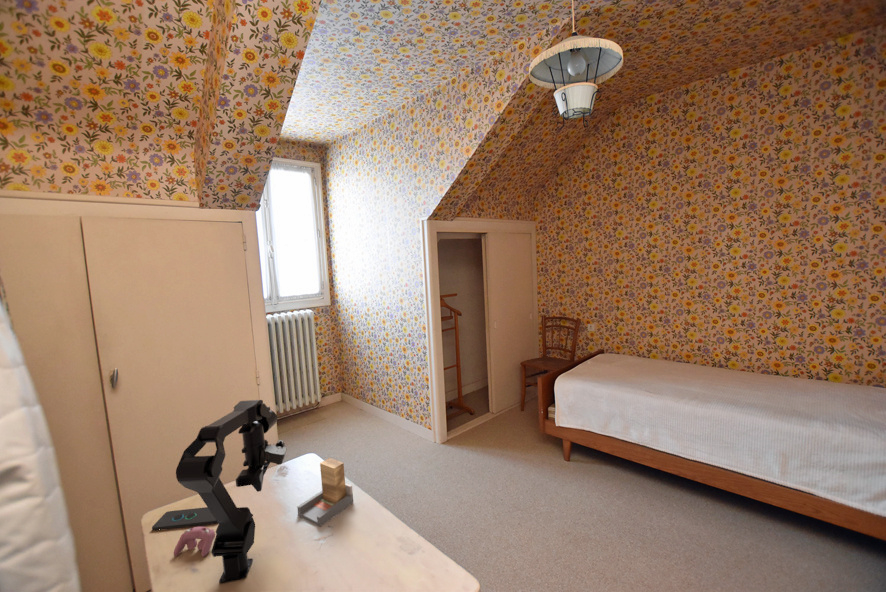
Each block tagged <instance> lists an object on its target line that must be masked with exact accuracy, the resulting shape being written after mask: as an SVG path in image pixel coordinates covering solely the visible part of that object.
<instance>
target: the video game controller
mask: <svg viewBox="0 0 886 592" xmlns="http://www.w3.org/2000/svg"><path fill="white" fill-rule="evenodd" d="M215 538H216V531H215V530H214V529H212V528H209V527H206V526H194V527H189V528H188V529H186V530H184V532H183V533H182V534H181V535H180V537H179V540H178V541H177V543H176V546H175V548H174V551H173V556H174V557H178V556H179V555H180V554H181V553H182V552H183V550H184V548H185V547H187V549H188V550H189V551H190V550H193V549H195V548H196V547H197V549H198V550H201V556H202V557H206V556H207V555H208V554H209V552H210V550H211V549H212V548H211V547H212V546H213V545H212V544H213V543H214V540H215ZM198 540H199V541H198Z"/></svg>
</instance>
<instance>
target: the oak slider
mask: <svg viewBox="0 0 886 592" xmlns="http://www.w3.org/2000/svg"><path fill="white" fill-rule="evenodd" d="M319 467H320V478H321V491H322V492H323V499H325V500H327V501H330V502H332V503H334V504H335V503H337V502H338V501H340V500H341V499H343V498H344V497H345V496H346V487H345V483H346V476H345V465H344V462H342V461H339V460H336V459H335V458H331V457H328V458H327V459H325V460H323V461H321V462H320V463H319Z"/></svg>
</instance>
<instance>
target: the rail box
mask: <svg viewBox="0 0 886 592" xmlns="http://www.w3.org/2000/svg"><path fill="white" fill-rule="evenodd" d="M345 487H346V496H345V497H344V498H343V499H341V500H340V501H338V502H337V503H335V504H334V503H332V502H330V501H327V500H325V499H323V492H322V490H321V491H319V492H318V493H316V494H315V495H313V496H311V497H310V498H309V499H307V500H304V502H302V503H300V504H299V505H298V506H296V507H297V516H299V517H301V518H302V519H304V520H306V521H308V522H309V523H310V522H311V523H312V524H314V525H315V526H318V527H320V528H321V527H322V526H324V525H325V524H327V523H329V522H330V520H332V519H333V518H335V517H336V516H338V514H340V513H341V512H342V511H344V510H346V509H347V508H348V507H350V506H351V505H352V504H353V503H354V494H353V485H351V484H350V483H347V482H345Z"/></svg>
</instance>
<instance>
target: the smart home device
mask: <svg viewBox="0 0 886 592" xmlns="http://www.w3.org/2000/svg"><path fill="white" fill-rule="evenodd" d="M217 524H218V522H217V520H216V519H215V517H214V516H213V514H212V513H211V511H210V510H209V508H208V507H207V506H206V507H197V508H187V509H179V510H177V509H176V510H170V511H166V512H165V513H163V515H162V516H161V517H160V518H159V519H158V520H157V521H156V522H155V523H153V525H152V526H151V529H152V530H158V531H162V530H161V529H167V530H174V529H183V528H194V527H204V526H210V525H211V526H212V525H217ZM218 525H219V524H218ZM159 529H160V530H159ZM152 530H151V531H152Z"/></svg>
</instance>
